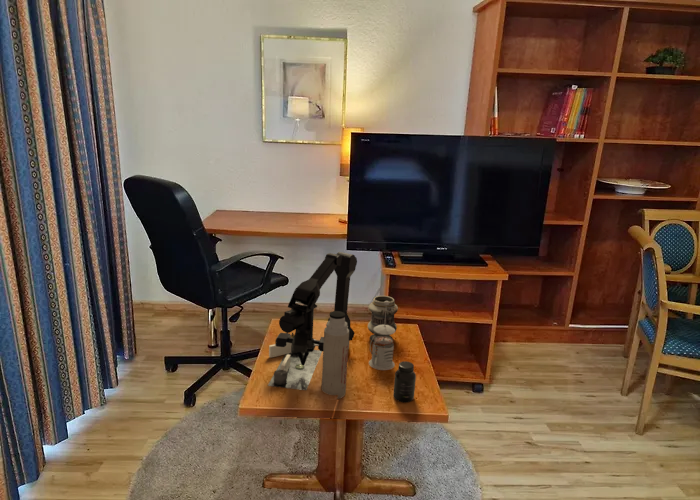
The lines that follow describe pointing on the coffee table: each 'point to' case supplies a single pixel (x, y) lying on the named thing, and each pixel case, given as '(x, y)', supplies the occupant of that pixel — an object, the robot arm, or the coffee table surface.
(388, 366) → the french press
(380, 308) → the apothecary jar
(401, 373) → the supplement bottle
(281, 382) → the knob
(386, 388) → the coffee table surface
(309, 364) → the plate
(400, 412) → the coffee table surface
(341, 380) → the thermos bottle
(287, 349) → the knob
